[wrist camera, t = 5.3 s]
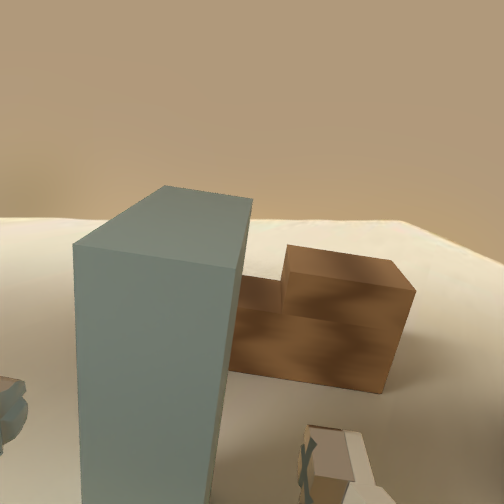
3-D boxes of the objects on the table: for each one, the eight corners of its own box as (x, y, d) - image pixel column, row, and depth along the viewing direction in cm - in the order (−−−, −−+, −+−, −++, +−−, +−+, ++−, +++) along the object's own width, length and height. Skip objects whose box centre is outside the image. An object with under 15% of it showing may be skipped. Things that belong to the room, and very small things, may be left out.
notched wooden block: (94, 349, 25) (93, 241, 22) (122, 313, 30) (124, 219, 27) (381, 393, 25) (416, 290, 22) (364, 350, 30) (391, 260, 27)
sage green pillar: (87, 655, 12) (72, 243, 7) (147, 479, 17) (164, 185, 12) (180, 670, 12) (236, 268, 7) (211, 489, 17) (252, 198, 12)
